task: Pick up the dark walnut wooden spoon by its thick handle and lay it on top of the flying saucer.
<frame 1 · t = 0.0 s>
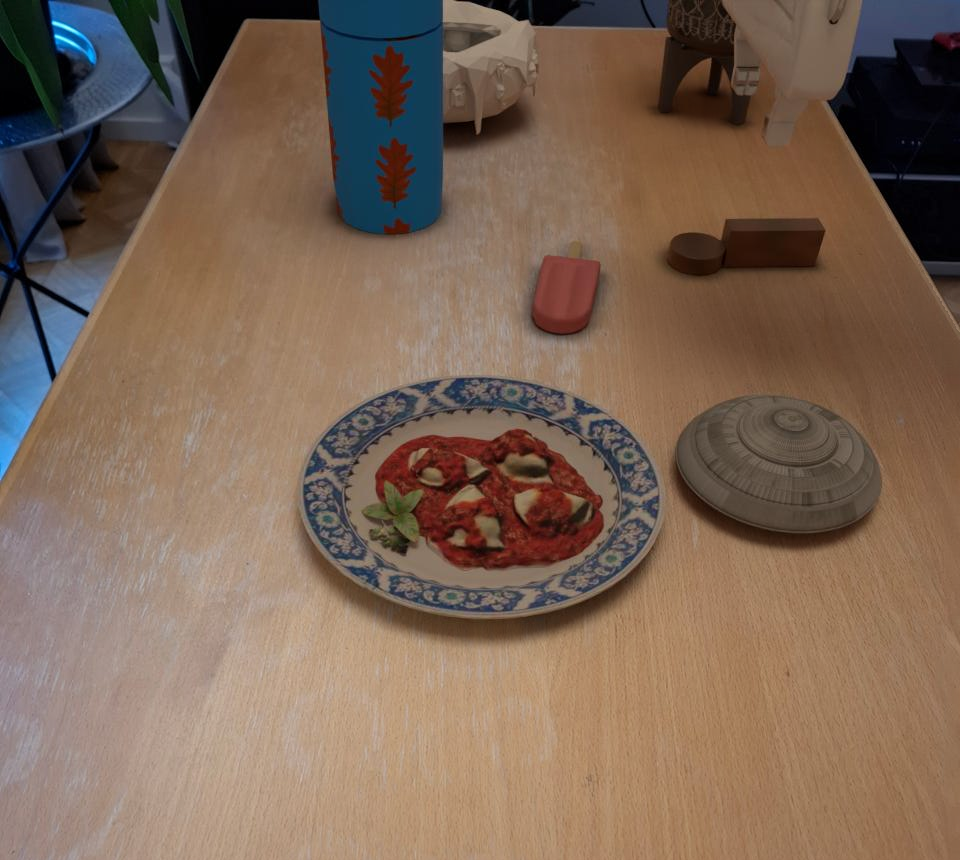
hand: (757, 116, 76), 17 cm above the table, tool pointing down, fingers open, 8 cm apart
popsicle: (566, 292, 91), on the table
bowl: (447, 117, 116), on the table
thermos: (389, 210, 100), on the table
planter: (704, 110, 119), on the table
flying saucer: (771, 480, 74), on the table
ceramic plate: (481, 506, 71), on the table
wooden spoon: (765, 260, 96), on the table
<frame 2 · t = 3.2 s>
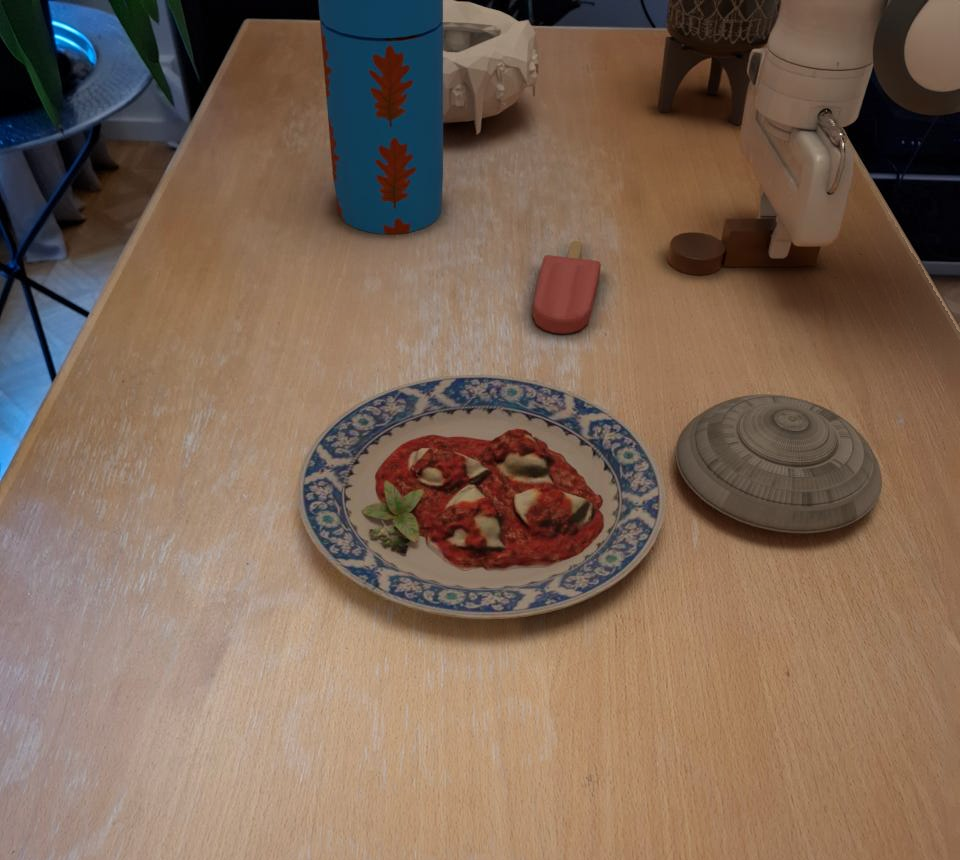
hand: (770, 244, 94), 2 cm above the table, tool pointing down, fingers closed on wooden spoon, 2 cm apart
wooden spoon: (765, 260, 95), on the table, touching gripper
everything else where it was.
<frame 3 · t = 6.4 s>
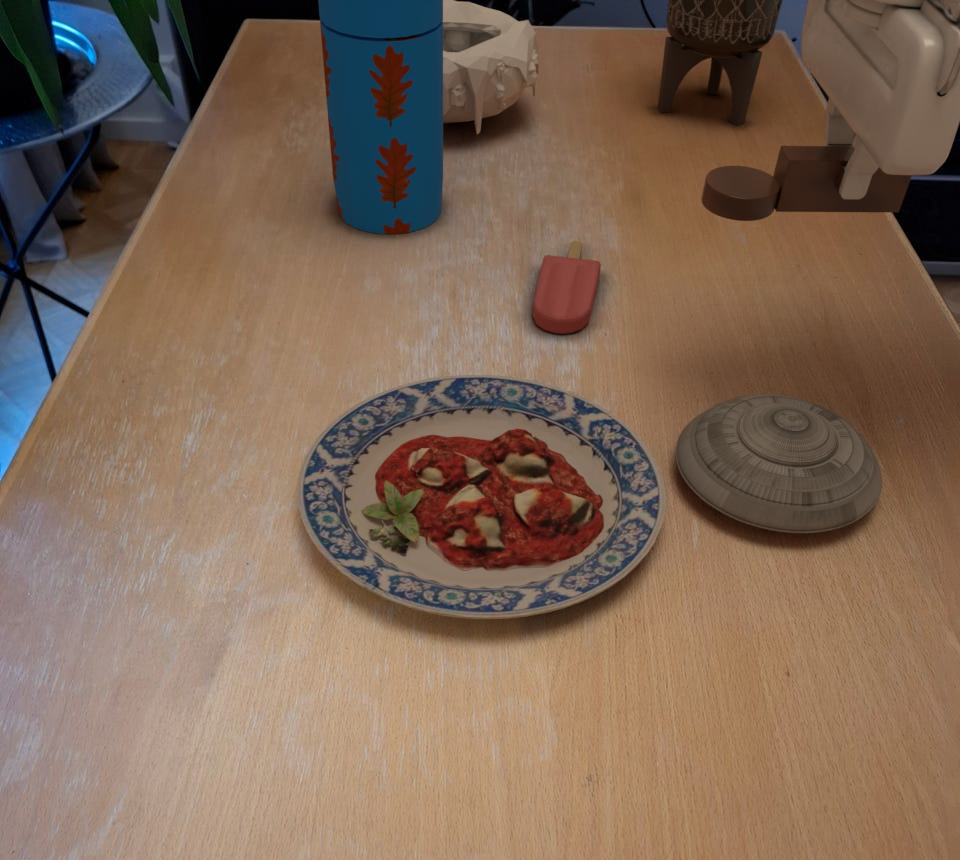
hand: (840, 182, 70), 16 cm above the table, tool pointing down, fingers closed on wooden spoon, 2 cm apart
wooden spoon: (832, 204, 71), point 15 cm above the table, touching gripper
everything else where it was.
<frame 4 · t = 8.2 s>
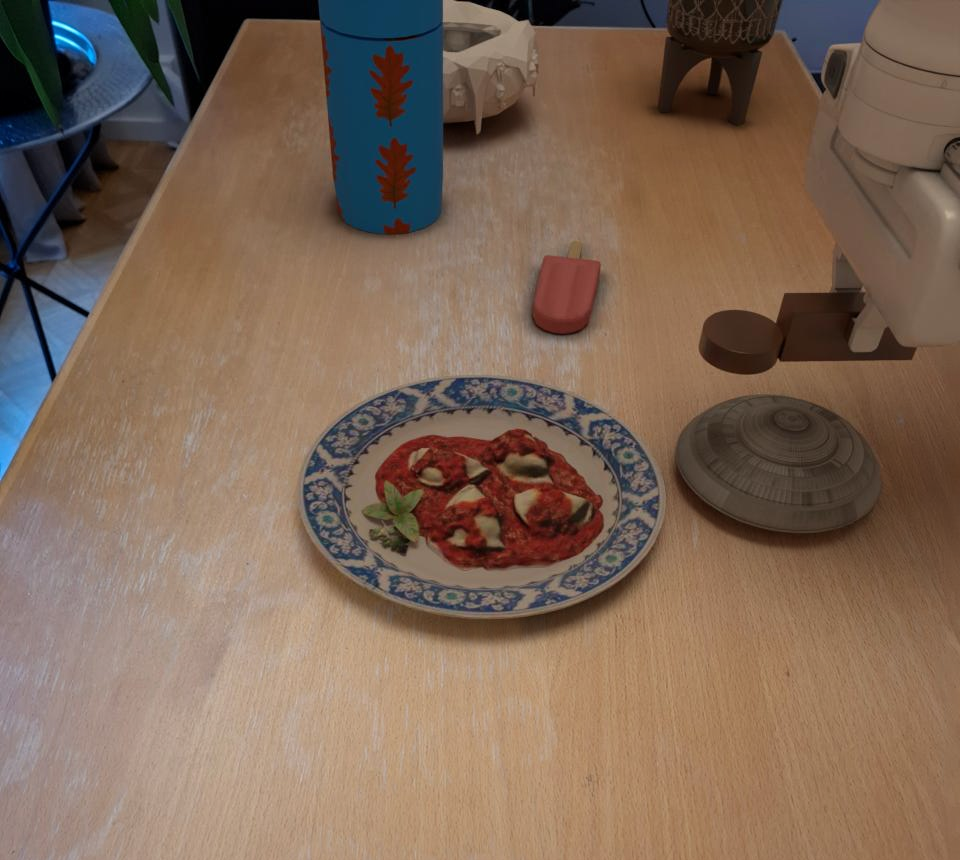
hand: (849, 329, 65), 12 cm above the table, tool pointing down, fingers closed on wooden spoon, 2 cm apart
wooden spoon: (840, 351, 66), point 11 cm above the table, touching gripper
everything else where it was.
when the fingers open (7 cm above the table, at t = 9.7 s): wooden spoon stays where it is, resting on flying saucer.
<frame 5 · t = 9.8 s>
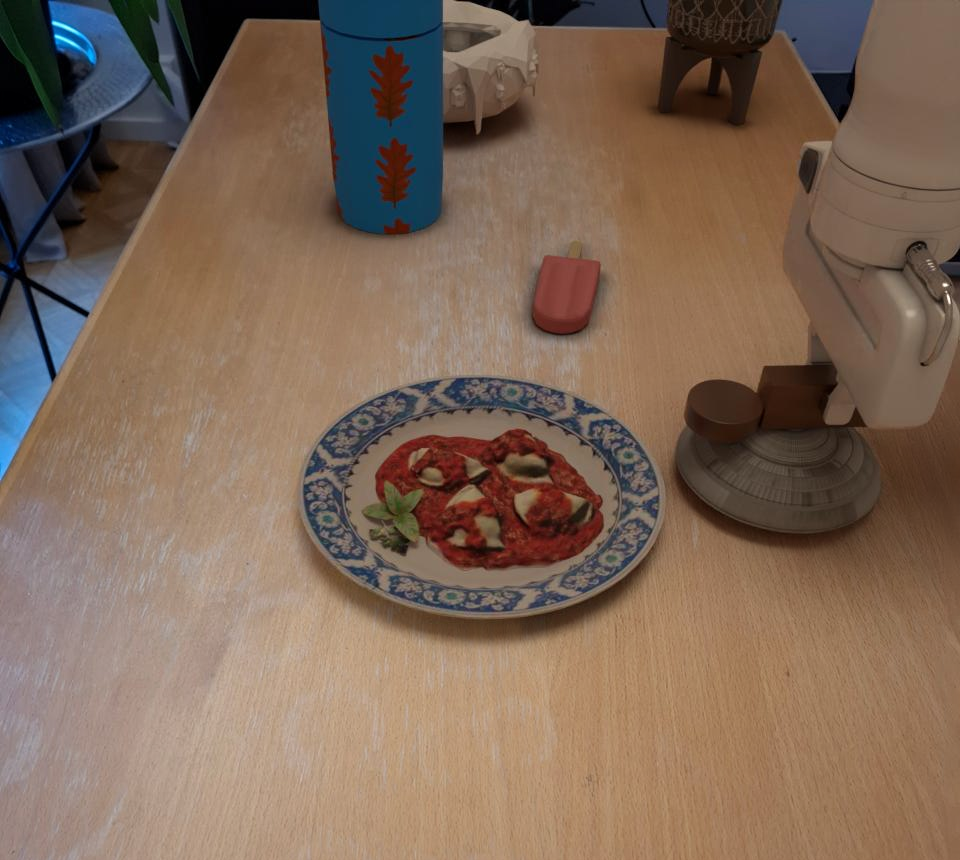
hand: (824, 401, 69), 7 cm above the table, tool pointing down
flying saucer: (771, 480, 74), on the table, touching wooden spoon
wooden spoon: (817, 417, 70), point 5 cm above the table, touching flying saucer
everything else where it was.
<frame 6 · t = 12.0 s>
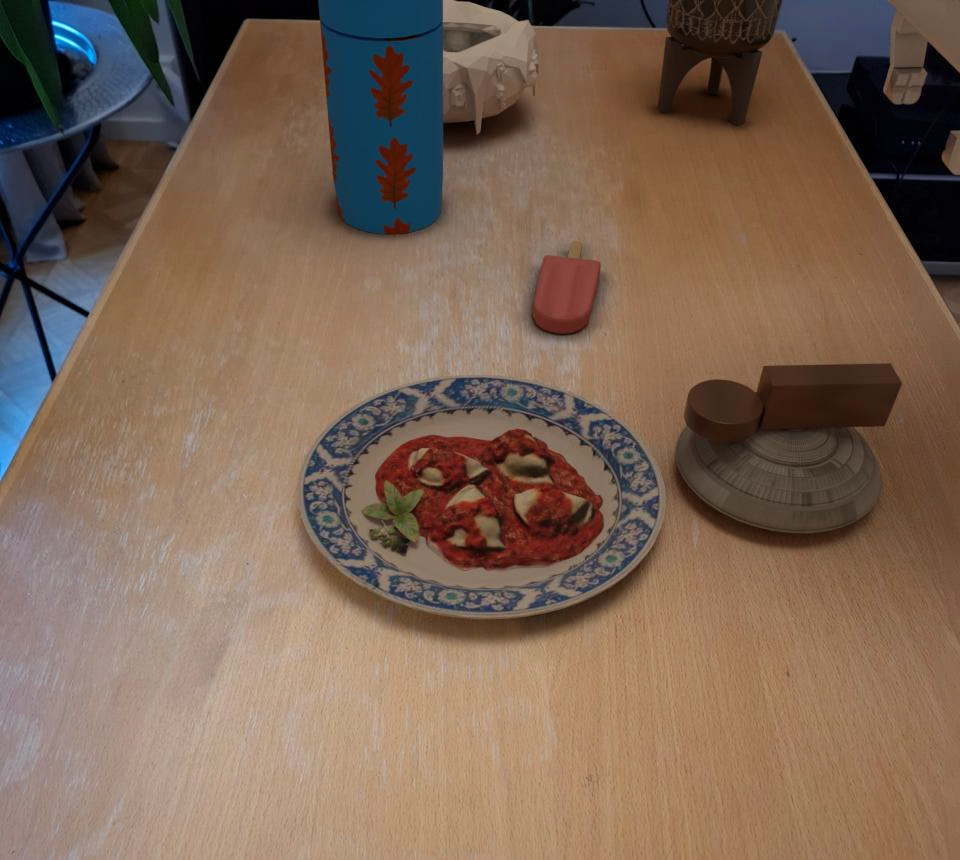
hand: (927, 132, 58), 24 cm above the table, tool pointing down, fingers open, 8 cm apart
nothing on the table moved.
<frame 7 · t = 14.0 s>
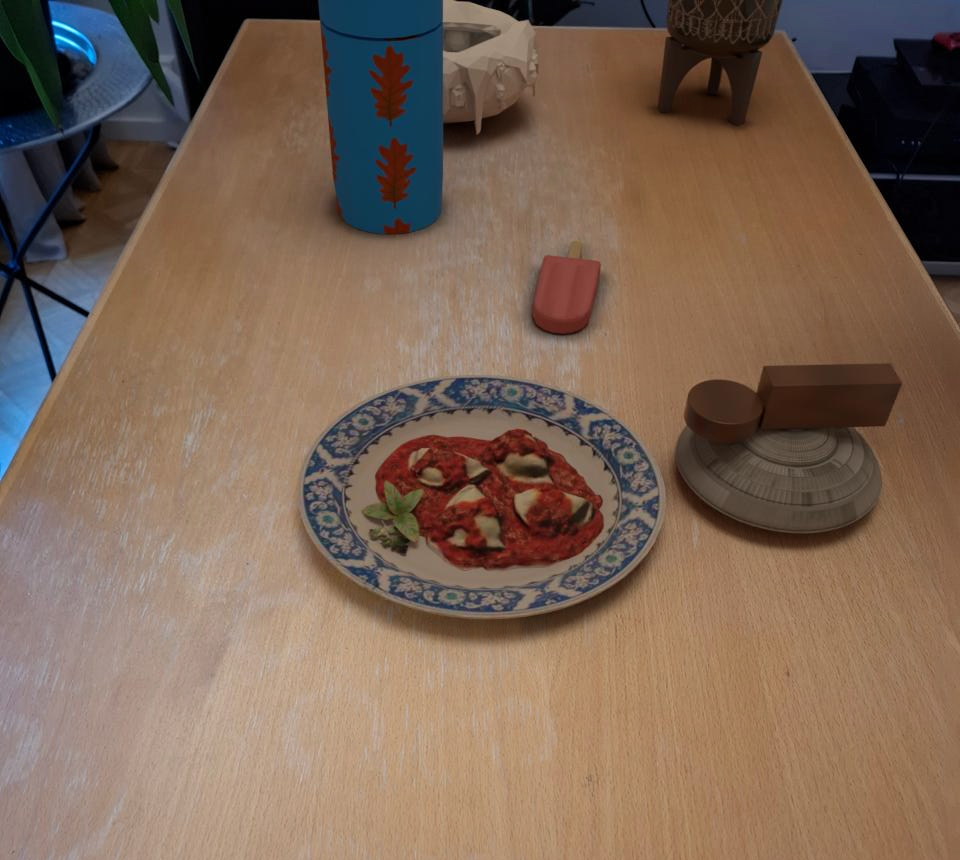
nothing on the table moved.
at the end: wooden spoon inside the target area in the flying saucer (1.9 cm from its centre), point 5.7 cm above the flying saucer's base; the gripper is holding nothing; flying saucer moved 0.2 cm from its start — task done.
